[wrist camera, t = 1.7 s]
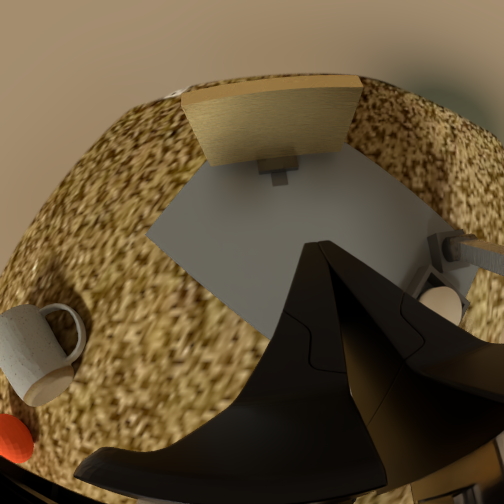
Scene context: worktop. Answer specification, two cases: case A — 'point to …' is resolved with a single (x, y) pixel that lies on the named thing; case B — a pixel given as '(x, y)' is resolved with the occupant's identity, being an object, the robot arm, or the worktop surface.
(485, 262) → the steel lever
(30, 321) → the ceramic mug
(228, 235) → the panel
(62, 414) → the worktop surface
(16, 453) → the red tomato
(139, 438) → the worktop surface
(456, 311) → the push button
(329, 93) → the brass paddle
